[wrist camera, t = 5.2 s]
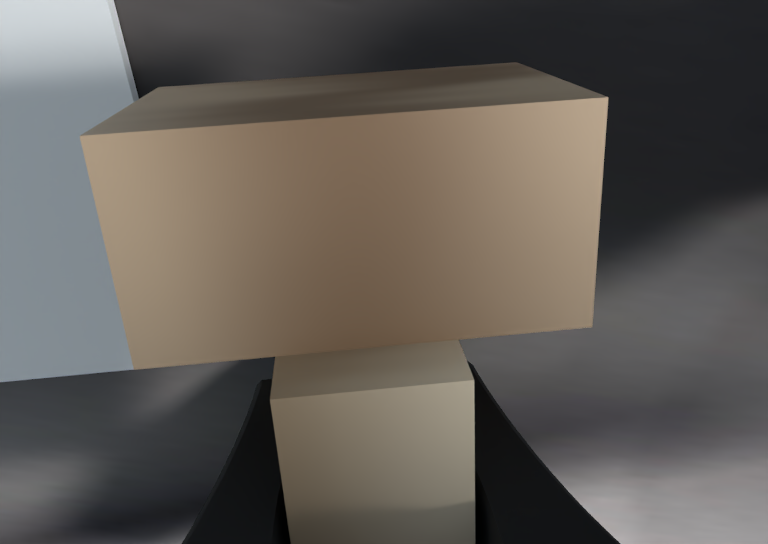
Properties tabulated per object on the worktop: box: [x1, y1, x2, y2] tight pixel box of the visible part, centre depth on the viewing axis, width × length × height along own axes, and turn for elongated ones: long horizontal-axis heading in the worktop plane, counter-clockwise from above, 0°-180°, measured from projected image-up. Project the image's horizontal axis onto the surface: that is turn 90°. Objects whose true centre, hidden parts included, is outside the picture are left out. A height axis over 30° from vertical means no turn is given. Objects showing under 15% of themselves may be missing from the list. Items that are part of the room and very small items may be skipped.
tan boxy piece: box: [80, 62, 608, 544], centre depth 12 cm, size 6×14×5 cm, turn 2°
